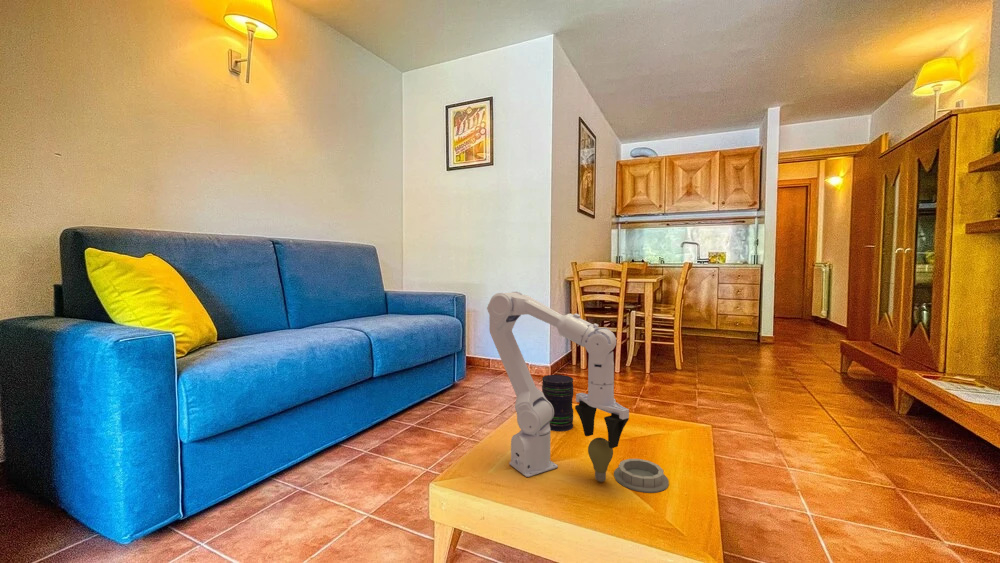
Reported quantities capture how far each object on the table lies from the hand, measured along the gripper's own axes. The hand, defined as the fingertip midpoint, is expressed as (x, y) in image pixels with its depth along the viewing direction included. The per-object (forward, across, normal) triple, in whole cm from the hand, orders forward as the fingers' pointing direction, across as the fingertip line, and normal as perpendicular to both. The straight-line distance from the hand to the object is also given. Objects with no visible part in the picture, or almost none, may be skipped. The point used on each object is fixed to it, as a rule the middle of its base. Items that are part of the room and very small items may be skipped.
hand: (600, 440), depth 92 cm
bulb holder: (+9, -4, -9) cm, 14 cm away
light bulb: (+10, 0, 0) cm, 10 cm away
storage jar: (+10, +32, -14) cm, 36 cm away
